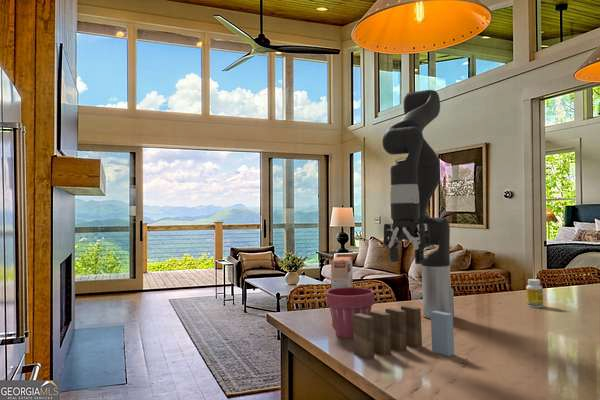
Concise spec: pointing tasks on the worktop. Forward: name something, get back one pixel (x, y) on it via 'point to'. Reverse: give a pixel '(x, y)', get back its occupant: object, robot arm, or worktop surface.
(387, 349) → the domino
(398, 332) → the domino
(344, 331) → the plant pot
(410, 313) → the domino
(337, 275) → the cracker box
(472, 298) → the worktop surface
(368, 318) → the domino
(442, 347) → the domino
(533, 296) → the supplement bottle
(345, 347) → the worktop surface
